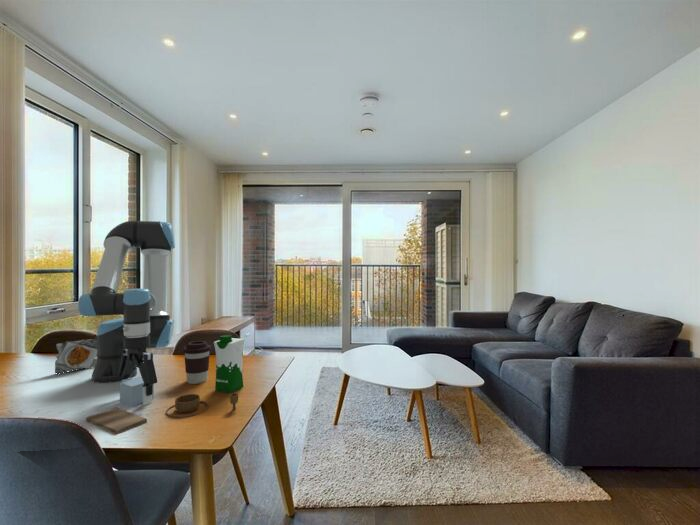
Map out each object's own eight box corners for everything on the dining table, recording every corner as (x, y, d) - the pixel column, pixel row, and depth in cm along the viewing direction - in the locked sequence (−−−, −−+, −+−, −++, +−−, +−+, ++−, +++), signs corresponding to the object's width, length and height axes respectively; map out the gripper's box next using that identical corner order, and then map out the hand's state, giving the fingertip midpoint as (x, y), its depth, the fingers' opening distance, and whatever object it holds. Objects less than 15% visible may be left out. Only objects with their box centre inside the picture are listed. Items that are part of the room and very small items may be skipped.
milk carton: (211, 392, 123) (211, 336, 123) (227, 383, 132) (227, 331, 132) (231, 395, 120) (231, 338, 120) (247, 386, 129) (247, 333, 129)
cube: (119, 404, 113) (119, 382, 113) (141, 396, 119) (141, 376, 119) (132, 408, 110) (132, 386, 110) (153, 400, 116) (153, 379, 116)
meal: (57, 377, 140) (57, 344, 140) (54, 374, 143) (54, 343, 143) (101, 368, 152) (101, 338, 152) (98, 366, 154) (98, 337, 154)
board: (86, 423, 99) (86, 417, 99) (116, 413, 106) (116, 407, 106) (116, 437, 91) (116, 430, 91) (146, 424, 98) (146, 418, 98)
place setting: (199, 399, 118) (199, 382, 118) (242, 412, 109) (242, 393, 109) (148, 420, 103) (148, 400, 103) (193, 436, 93) (193, 415, 93)
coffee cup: (200, 386, 129) (200, 346, 129) (177, 384, 131) (177, 345, 131) (216, 377, 139) (216, 340, 139) (194, 376, 141) (194, 339, 141)
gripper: (105, 334, 117) (105, 398, 117) (146, 341, 106) (146, 413, 106) (128, 330, 124) (128, 391, 124) (169, 337, 112) (169, 404, 112)
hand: (136, 401), depth 115 cm, fingers open, 11 cm apart
